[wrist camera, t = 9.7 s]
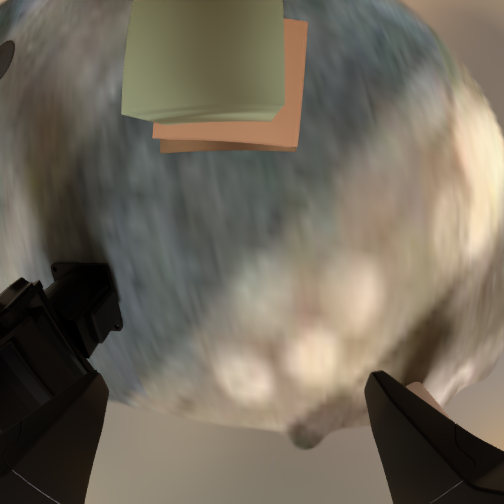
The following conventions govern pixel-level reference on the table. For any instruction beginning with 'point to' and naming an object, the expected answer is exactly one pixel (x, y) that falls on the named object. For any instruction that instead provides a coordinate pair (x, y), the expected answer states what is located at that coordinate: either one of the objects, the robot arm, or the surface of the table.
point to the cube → (204, 61)
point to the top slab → (258, 132)
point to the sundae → (6, 56)
